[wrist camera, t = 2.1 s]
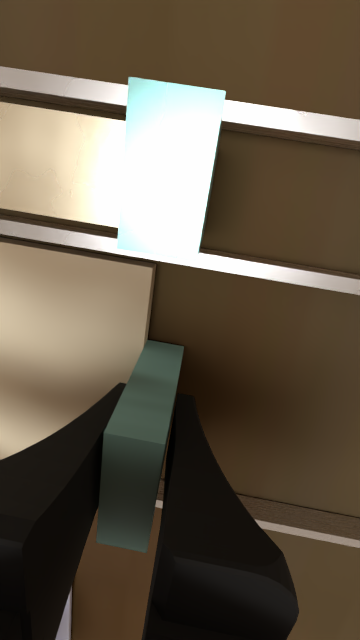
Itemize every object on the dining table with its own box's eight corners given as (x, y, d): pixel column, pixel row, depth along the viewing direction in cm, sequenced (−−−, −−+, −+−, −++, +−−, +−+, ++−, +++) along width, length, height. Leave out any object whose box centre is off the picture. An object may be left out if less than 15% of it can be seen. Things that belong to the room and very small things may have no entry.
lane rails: (374, 528, 16) (456, 694, 11) (-234, 408, 17) (-436, 501, 12) (589, 166, 9) (1080, 121, 4) (-412, 15, 11) (-1033, -169, 5)
